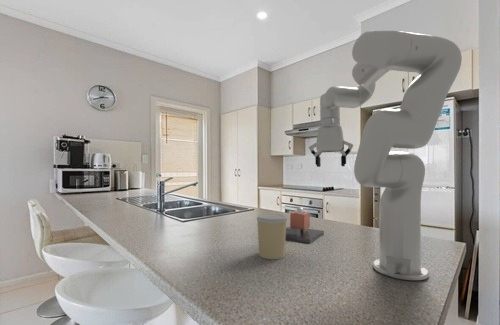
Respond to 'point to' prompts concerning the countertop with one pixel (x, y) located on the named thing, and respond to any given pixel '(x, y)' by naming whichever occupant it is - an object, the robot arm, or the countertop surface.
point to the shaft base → (306, 236)
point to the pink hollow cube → (300, 220)
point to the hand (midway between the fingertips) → (330, 166)
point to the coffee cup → (271, 235)
